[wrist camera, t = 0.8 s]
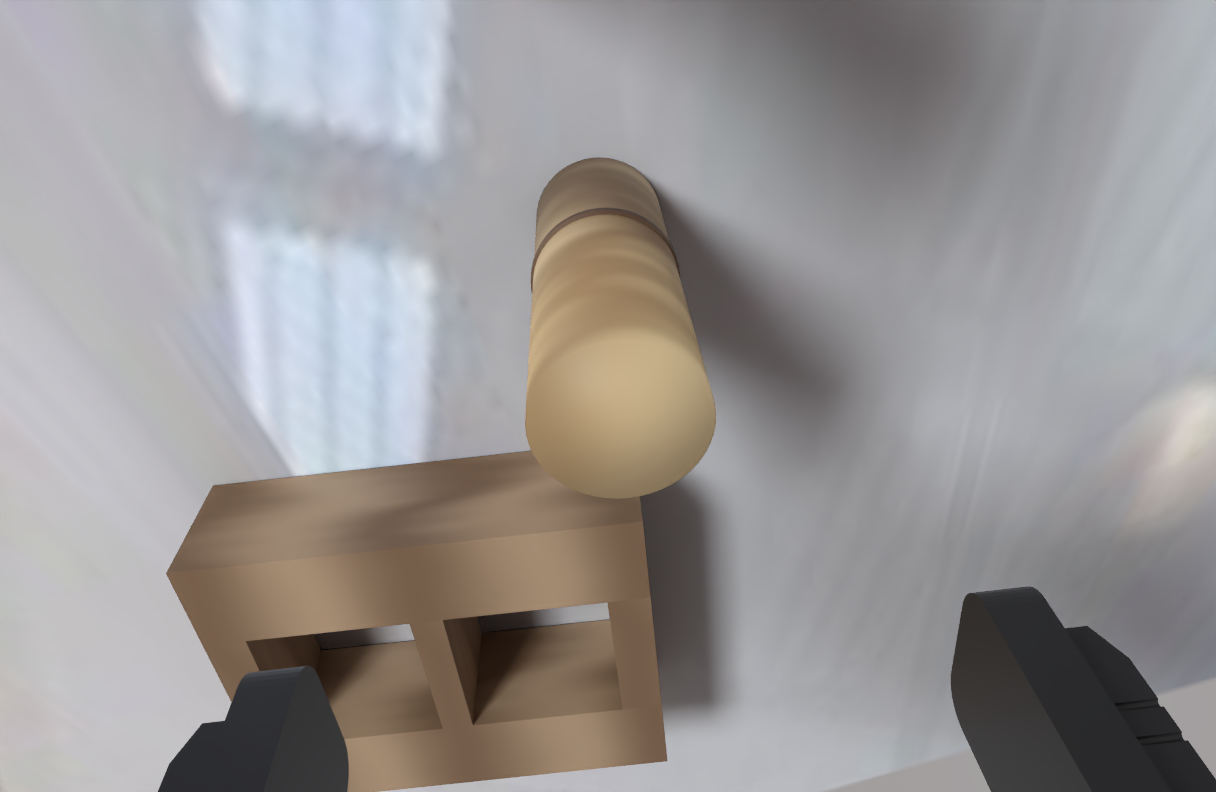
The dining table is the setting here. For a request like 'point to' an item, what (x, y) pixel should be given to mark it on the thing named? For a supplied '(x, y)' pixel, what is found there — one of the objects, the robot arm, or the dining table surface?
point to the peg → (611, 340)
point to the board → (437, 614)
